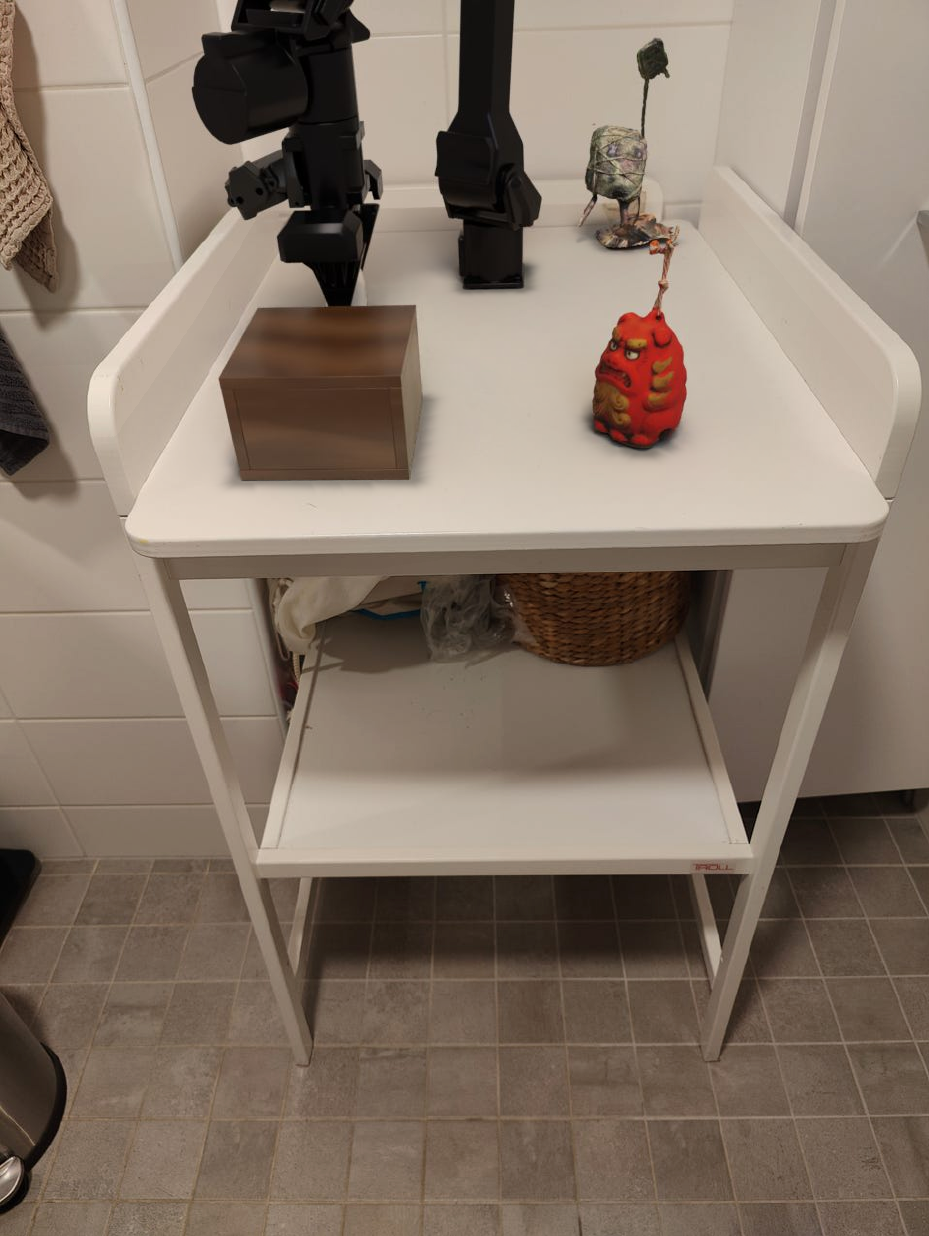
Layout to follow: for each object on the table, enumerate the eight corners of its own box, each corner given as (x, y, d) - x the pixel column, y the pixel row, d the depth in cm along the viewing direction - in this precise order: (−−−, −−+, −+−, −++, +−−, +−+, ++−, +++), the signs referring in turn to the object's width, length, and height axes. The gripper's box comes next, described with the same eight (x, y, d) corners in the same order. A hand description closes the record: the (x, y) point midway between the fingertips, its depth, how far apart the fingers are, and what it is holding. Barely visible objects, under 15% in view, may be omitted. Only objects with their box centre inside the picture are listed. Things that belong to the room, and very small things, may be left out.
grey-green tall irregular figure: (574, 229, 111) (582, 36, 98) (668, 227, 110) (688, 33, 98) (578, 252, 105) (586, 49, 92) (677, 250, 104) (700, 45, 91)
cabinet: (275, 402, 79) (257, 307, 73) (422, 400, 78) (416, 304, 73) (240, 480, 69) (218, 378, 64) (409, 479, 68) (400, 375, 63)
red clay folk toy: (571, 425, 74) (580, 232, 64) (633, 398, 77) (650, 211, 67) (640, 462, 69) (660, 260, 59) (703, 432, 72) (732, 236, 62)
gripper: (249, 92, 80) (279, 271, 90) (191, 149, 66) (235, 353, 76) (375, 88, 79) (391, 268, 90) (344, 145, 65) (367, 351, 75)
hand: (346, 307), depth 83 cm, fingers open, 6 cm apart
